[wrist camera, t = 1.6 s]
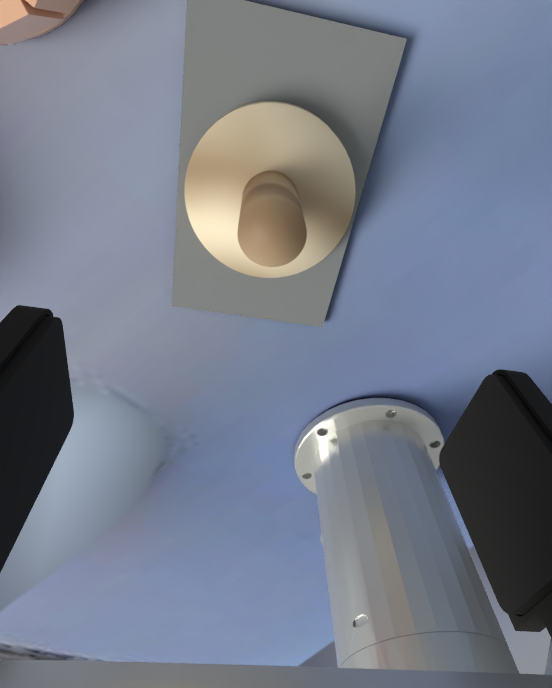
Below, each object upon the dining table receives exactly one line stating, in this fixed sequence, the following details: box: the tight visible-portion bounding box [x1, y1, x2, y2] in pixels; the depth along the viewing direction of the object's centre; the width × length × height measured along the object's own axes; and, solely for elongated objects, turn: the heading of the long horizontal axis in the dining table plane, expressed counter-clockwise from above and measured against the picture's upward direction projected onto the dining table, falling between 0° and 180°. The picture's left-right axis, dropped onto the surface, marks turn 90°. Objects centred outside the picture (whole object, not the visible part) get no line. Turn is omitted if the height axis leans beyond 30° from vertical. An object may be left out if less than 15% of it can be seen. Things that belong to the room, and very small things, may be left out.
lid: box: [185, 101, 356, 278], centre depth 21 cm, size 9×9×6 cm
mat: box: [172, 0, 407, 327], centre depth 23 cm, size 16×10×1 cm, turn 170°
